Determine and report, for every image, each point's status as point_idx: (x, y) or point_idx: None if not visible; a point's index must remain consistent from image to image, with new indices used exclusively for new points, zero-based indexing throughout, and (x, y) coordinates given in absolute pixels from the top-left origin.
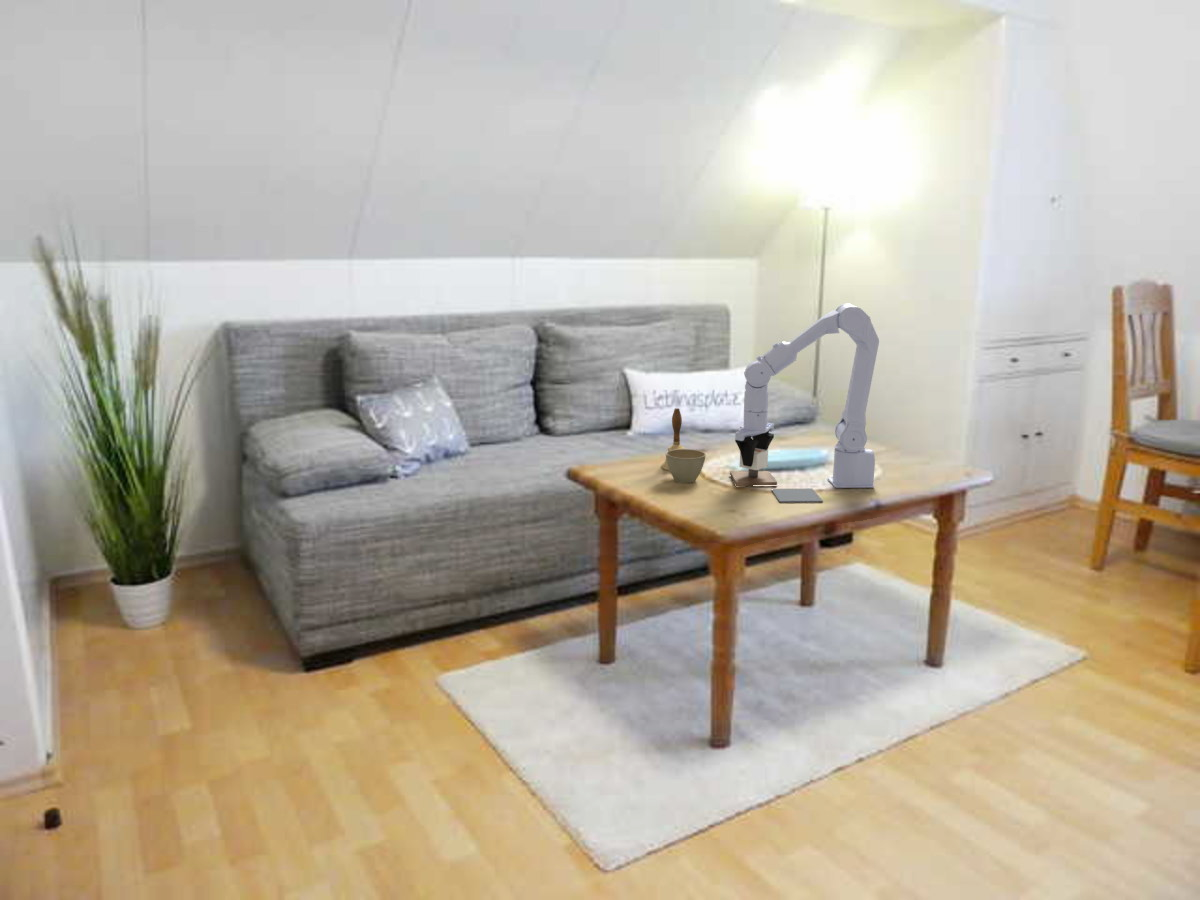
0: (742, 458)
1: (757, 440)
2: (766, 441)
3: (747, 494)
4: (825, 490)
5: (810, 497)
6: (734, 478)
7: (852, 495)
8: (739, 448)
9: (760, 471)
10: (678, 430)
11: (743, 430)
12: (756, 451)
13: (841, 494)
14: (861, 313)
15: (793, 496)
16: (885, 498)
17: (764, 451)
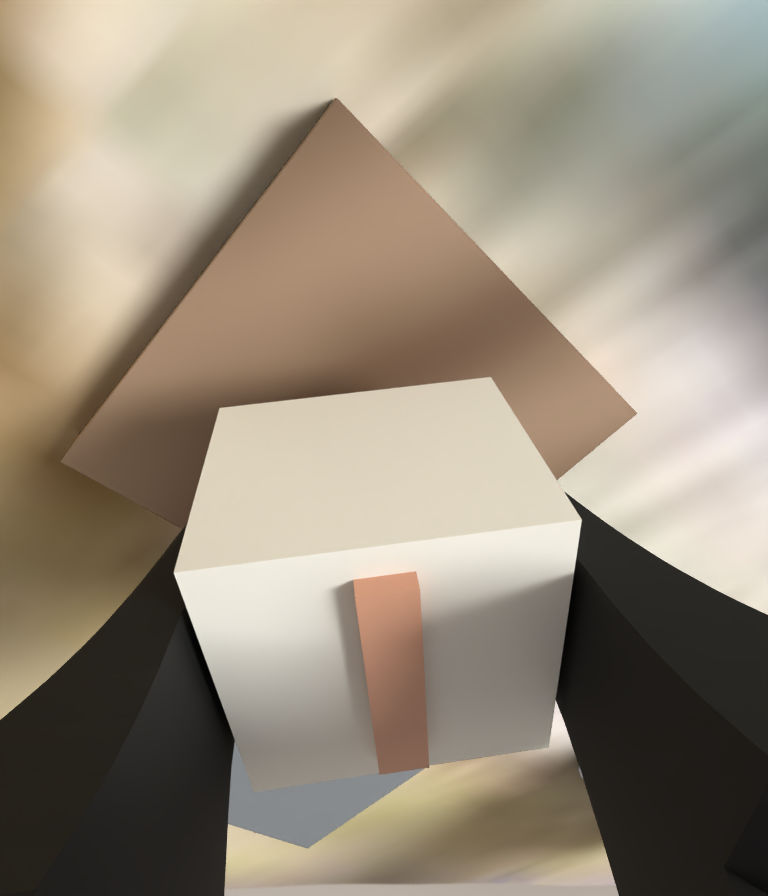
0: (160, 568)
1: (648, 747)
2: (623, 867)
3: (28, 602)
4: (508, 756)
5: (305, 809)
6: (143, 358)
7: (512, 831)
8: (23, 713)
9: (577, 367)
10: None
11: None
12: (363, 722)
13: (494, 810)
14: None
15: (244, 771)
16: (557, 884)
17: (450, 761)
